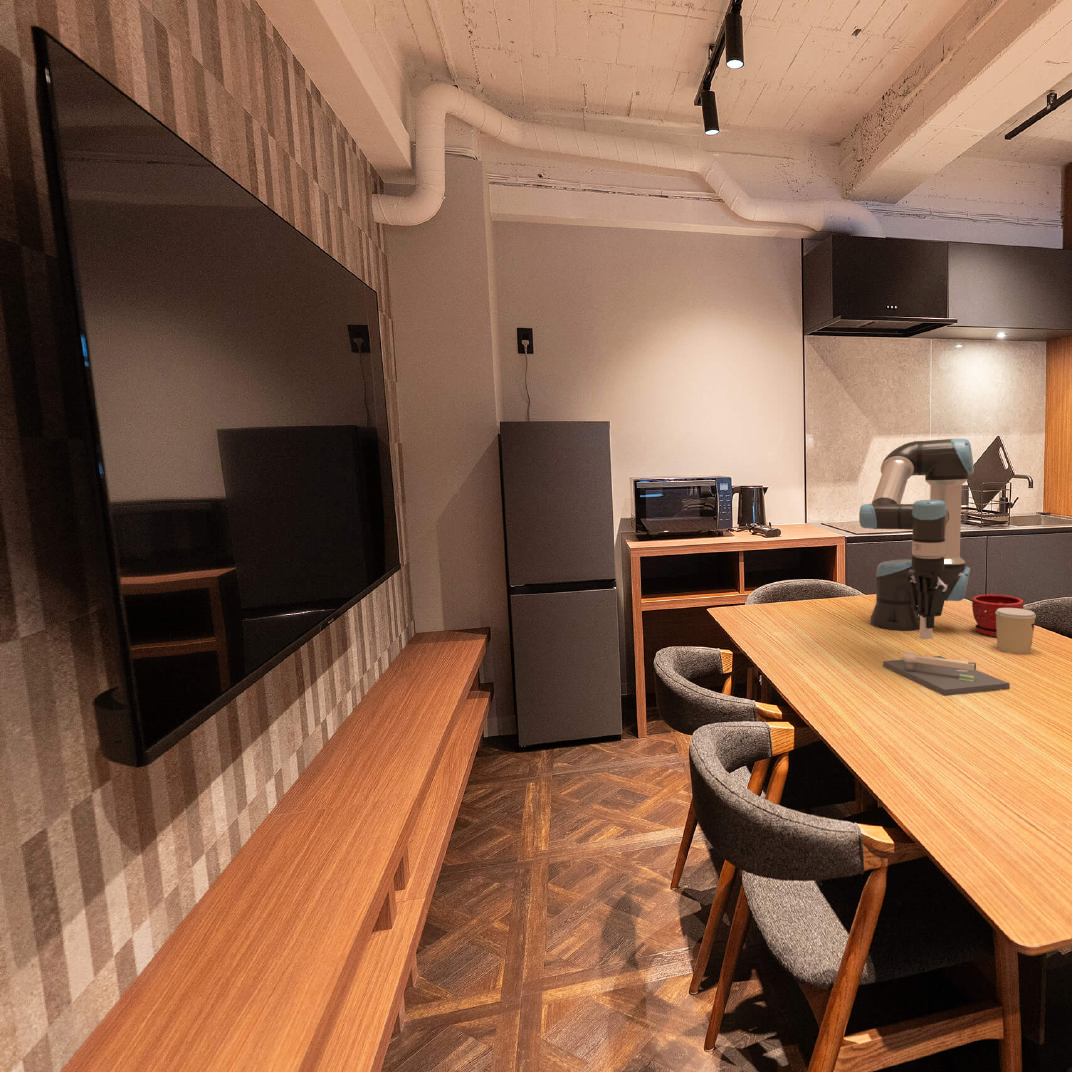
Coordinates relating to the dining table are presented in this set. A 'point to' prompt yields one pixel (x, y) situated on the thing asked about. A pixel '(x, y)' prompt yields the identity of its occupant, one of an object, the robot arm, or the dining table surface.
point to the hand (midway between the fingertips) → (926, 638)
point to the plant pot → (991, 611)
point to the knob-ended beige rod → (938, 661)
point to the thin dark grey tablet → (946, 677)
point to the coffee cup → (1014, 630)
